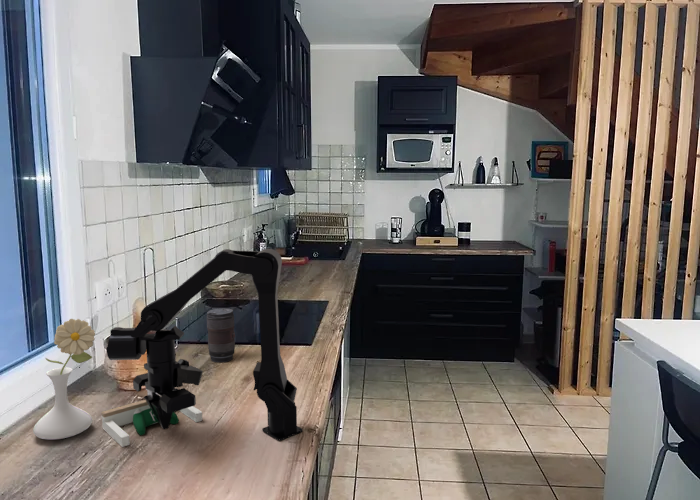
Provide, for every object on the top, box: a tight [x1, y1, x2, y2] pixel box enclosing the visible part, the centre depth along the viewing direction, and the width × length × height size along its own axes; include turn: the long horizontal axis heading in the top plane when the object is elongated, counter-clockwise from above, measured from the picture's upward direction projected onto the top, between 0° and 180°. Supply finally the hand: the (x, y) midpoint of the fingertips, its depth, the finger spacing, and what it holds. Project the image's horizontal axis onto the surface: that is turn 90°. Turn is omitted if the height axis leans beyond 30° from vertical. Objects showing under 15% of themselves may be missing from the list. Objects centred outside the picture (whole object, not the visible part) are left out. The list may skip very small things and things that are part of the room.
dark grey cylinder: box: [206, 307, 236, 363], centre depth 164 cm, size 8×8×15 cm
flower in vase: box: [32, 318, 96, 440], centre depth 116 cm, size 13×11×25 cm
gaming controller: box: [132, 408, 180, 436], centre depth 121 cm, size 9×4×6 cm
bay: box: [101, 399, 203, 448], centre depth 121 cm, size 12×18×4 cm, turn 133°
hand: (165, 428), depth 117 cm, fingers closed
